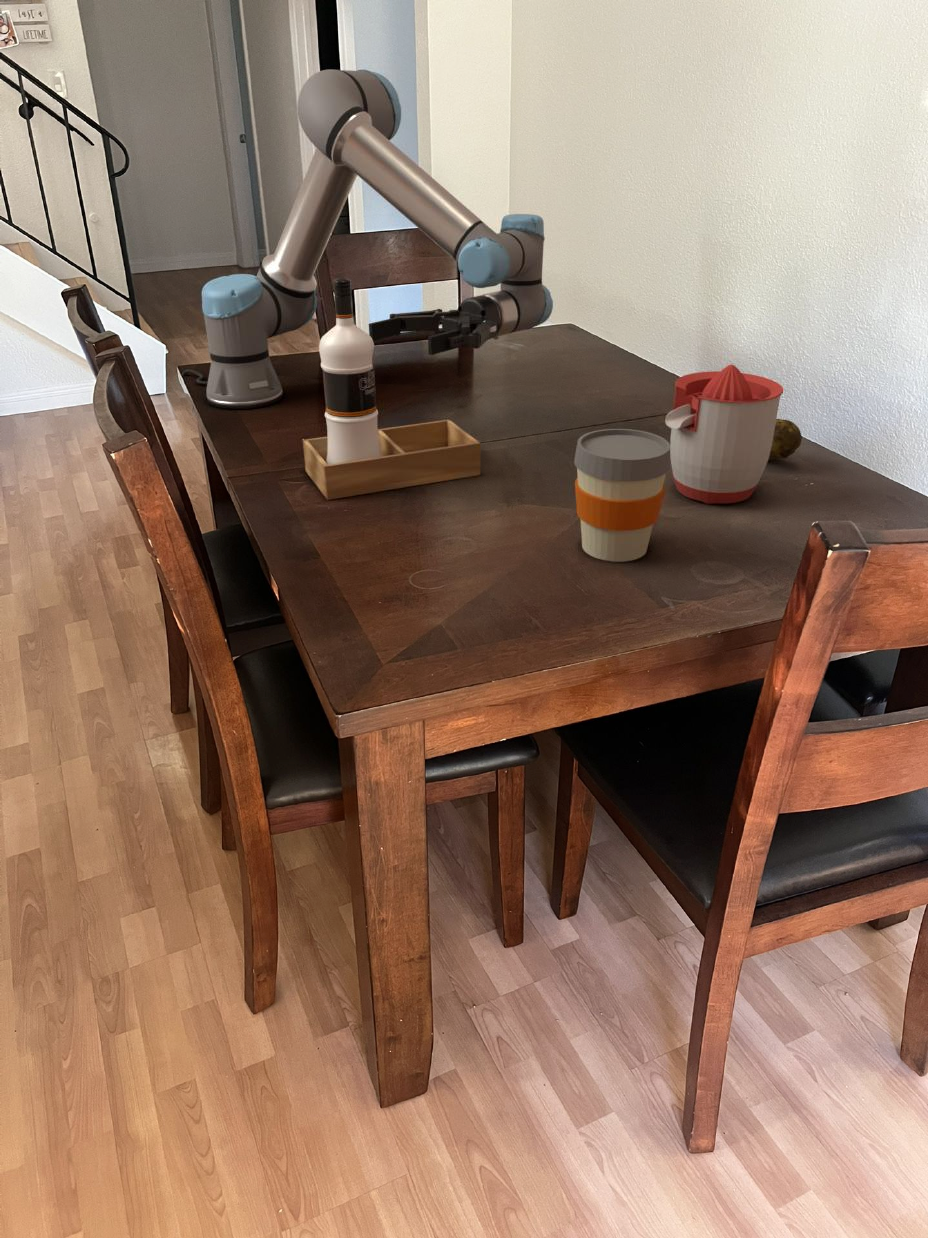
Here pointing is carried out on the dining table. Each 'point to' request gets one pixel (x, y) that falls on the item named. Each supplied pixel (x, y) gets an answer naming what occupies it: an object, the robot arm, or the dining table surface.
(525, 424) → the dining table surface
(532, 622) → the dining table surface
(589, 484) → the reusable coffee cup
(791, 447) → the potato
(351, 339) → the vodka
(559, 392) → the dining table surface
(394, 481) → the wooden divided tray
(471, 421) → the dining table surface
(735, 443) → the citrus juicer
